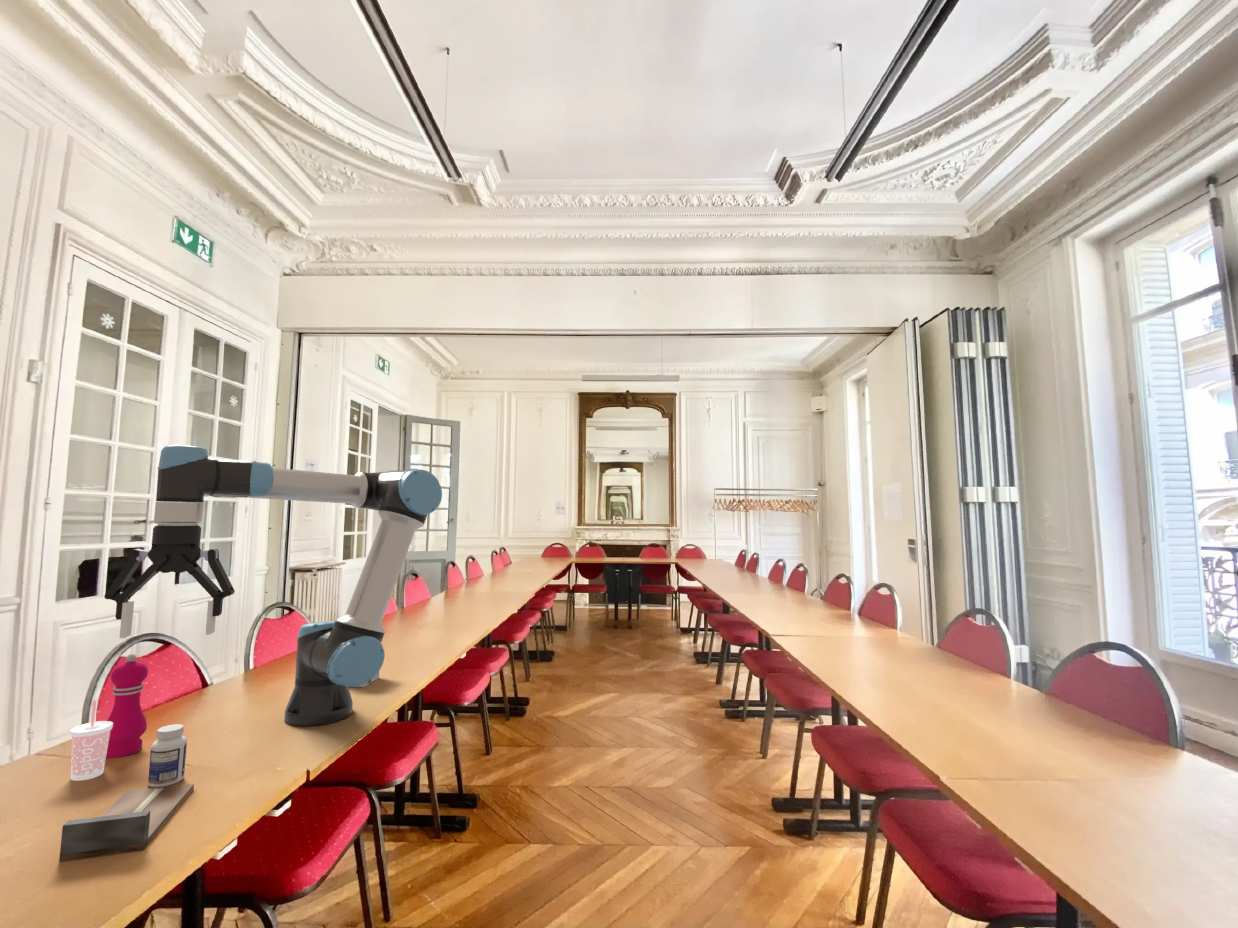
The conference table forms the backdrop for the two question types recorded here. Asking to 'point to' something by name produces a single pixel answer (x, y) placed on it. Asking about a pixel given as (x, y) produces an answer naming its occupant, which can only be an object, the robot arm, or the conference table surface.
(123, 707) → the pepper mill
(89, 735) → the beverage cup
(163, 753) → the pill bottle
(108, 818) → the board
